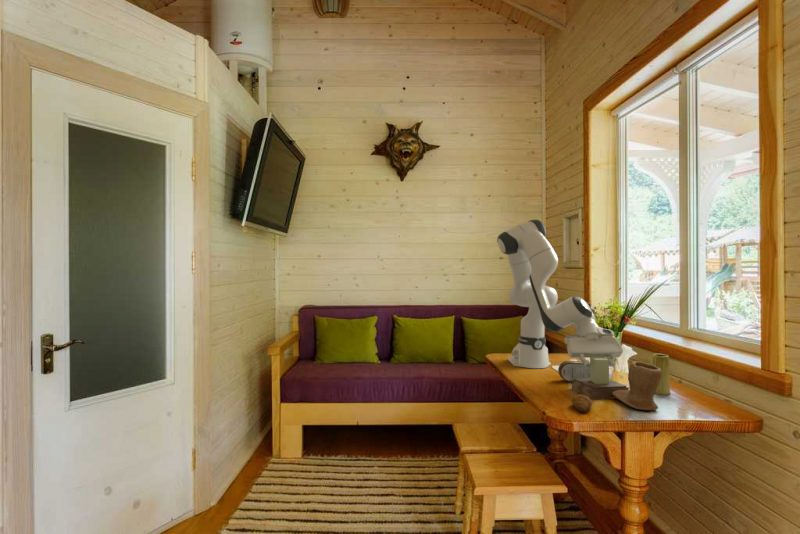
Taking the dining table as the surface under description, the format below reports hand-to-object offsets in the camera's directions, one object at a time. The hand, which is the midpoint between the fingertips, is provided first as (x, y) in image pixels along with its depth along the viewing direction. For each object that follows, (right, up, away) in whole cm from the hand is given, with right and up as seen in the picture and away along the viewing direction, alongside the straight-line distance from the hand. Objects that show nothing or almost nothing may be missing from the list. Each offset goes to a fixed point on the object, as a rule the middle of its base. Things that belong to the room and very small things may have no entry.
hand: (600, 365), depth 163 cm
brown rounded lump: (-14, -11, -16) cm, 24 cm away
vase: (+23, -11, +1) cm, 26 cm away
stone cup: (+7, -11, -14) cm, 19 cm away
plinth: (0, -10, +1) cm, 10 cm away
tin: (-2, -11, +17) cm, 20 cm away
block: (0, -6, +1) cm, 6 cm away
